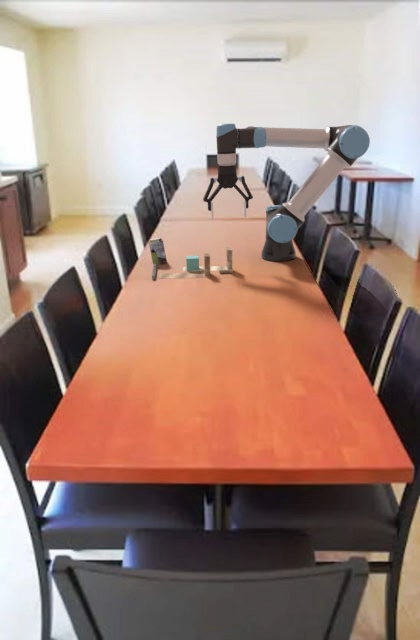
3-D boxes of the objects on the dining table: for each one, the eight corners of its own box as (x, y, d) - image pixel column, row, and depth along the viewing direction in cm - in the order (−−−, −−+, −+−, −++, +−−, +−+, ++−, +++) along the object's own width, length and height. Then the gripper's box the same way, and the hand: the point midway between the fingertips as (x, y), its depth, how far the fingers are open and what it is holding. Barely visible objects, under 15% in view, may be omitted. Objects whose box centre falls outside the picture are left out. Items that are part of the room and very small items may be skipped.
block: (198, 267, 233) (198, 255, 232) (199, 270, 229) (198, 258, 227) (186, 267, 233) (186, 255, 231) (186, 270, 229) (186, 258, 227)
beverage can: (164, 267, 238) (163, 239, 234) (148, 267, 240) (146, 239, 236) (168, 263, 244) (167, 236, 240) (152, 263, 246) (151, 236, 241)
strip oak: (209, 274, 226) (209, 252, 223) (210, 279, 220) (210, 256, 217) (159, 276, 226) (158, 254, 222) (159, 281, 219) (157, 258, 216)
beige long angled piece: (231, 267, 235) (231, 246, 232) (232, 272, 229) (232, 250, 226) (183, 269, 234) (182, 248, 231) (183, 274, 228) (182, 252, 225)
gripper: (255, 162, 231) (256, 214, 238) (194, 165, 228) (197, 217, 235) (259, 163, 224) (260, 217, 231) (196, 167, 221) (199, 221, 228)
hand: (228, 217), depth 233 cm, fingers open, 13 cm apart
